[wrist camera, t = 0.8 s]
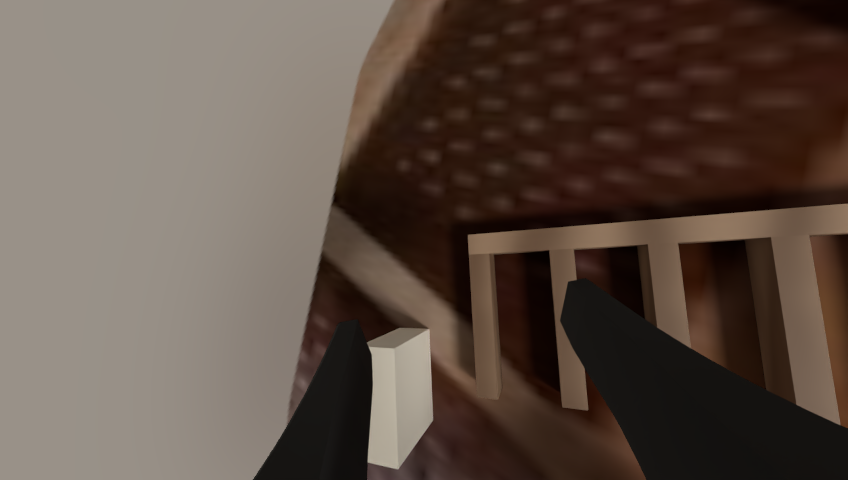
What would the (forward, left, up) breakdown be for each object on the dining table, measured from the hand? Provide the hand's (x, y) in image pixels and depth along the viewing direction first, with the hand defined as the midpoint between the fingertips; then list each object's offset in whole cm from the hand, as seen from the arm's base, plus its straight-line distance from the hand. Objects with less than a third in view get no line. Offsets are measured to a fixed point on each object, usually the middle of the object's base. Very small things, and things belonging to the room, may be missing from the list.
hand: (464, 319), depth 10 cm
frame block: (-8, +9, -16) cm, 20 cm away
